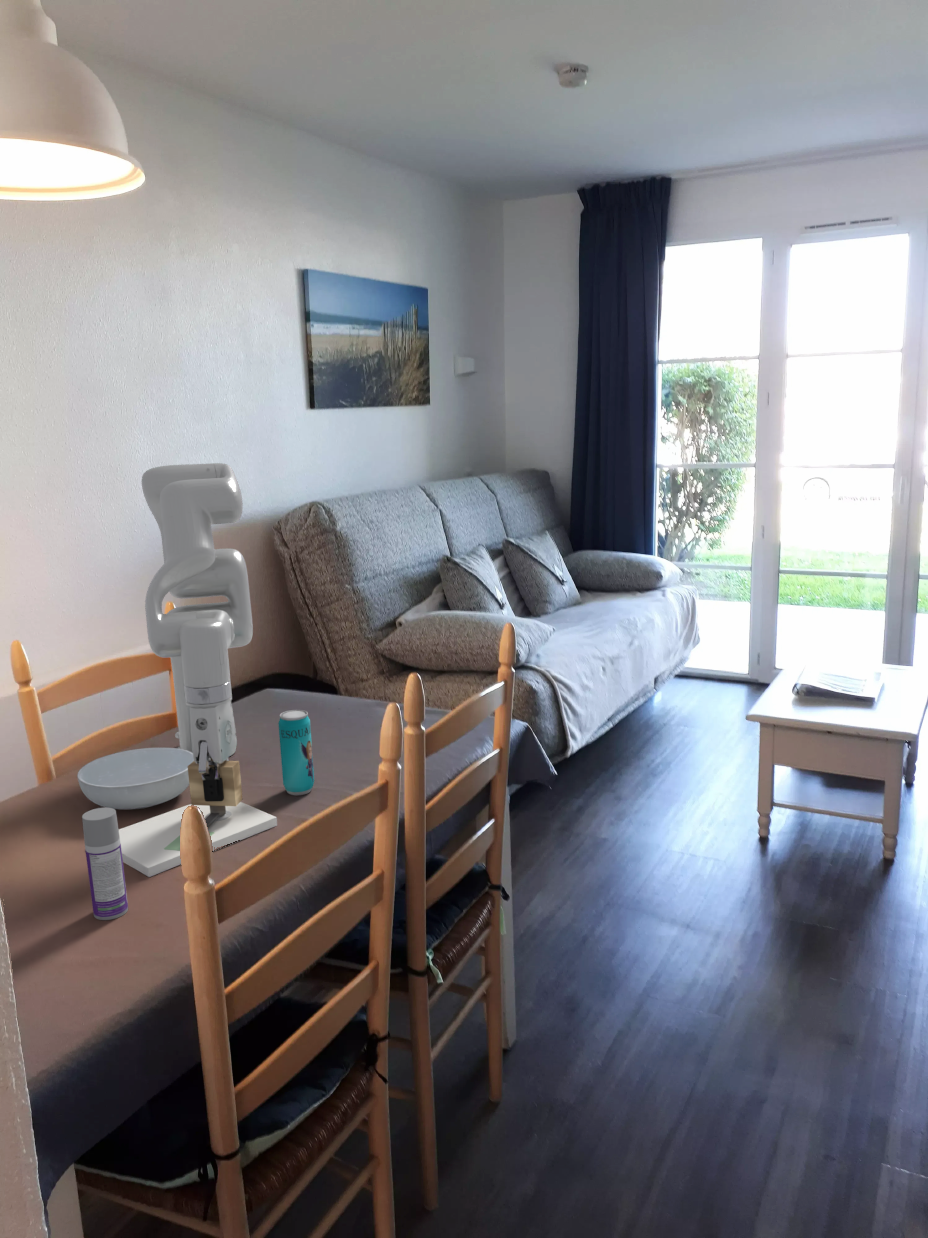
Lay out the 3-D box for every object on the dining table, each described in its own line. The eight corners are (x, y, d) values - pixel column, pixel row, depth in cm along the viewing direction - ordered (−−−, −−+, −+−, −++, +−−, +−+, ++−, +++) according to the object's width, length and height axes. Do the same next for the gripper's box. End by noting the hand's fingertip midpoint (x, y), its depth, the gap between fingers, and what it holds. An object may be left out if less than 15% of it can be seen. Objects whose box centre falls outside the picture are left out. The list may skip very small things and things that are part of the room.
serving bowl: (223, 789, 182) (220, 755, 180) (135, 832, 164) (131, 794, 163) (146, 772, 192) (143, 739, 191) (56, 811, 175) (51, 775, 173)
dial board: (96, 846, 159) (95, 837, 159) (221, 801, 176) (220, 792, 176) (150, 878, 147) (149, 868, 147) (279, 826, 164) (278, 817, 164)
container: (99, 905, 140) (86, 808, 137) (132, 902, 140) (120, 806, 137) (89, 921, 135) (76, 822, 132) (123, 919, 136) (111, 819, 132)
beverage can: (308, 797, 176) (302, 719, 173) (279, 796, 177) (272, 718, 174) (319, 785, 182) (313, 709, 179) (290, 784, 183) (284, 708, 180)
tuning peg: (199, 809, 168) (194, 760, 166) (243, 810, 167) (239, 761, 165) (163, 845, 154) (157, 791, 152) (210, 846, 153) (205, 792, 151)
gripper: (215, 707, 153) (225, 815, 157) (243, 679, 169) (252, 777, 173) (169, 708, 153) (180, 816, 157) (201, 680, 170) (211, 778, 173)
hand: (218, 795), depth 165 cm, fingers closed on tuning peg, 3 cm apart
